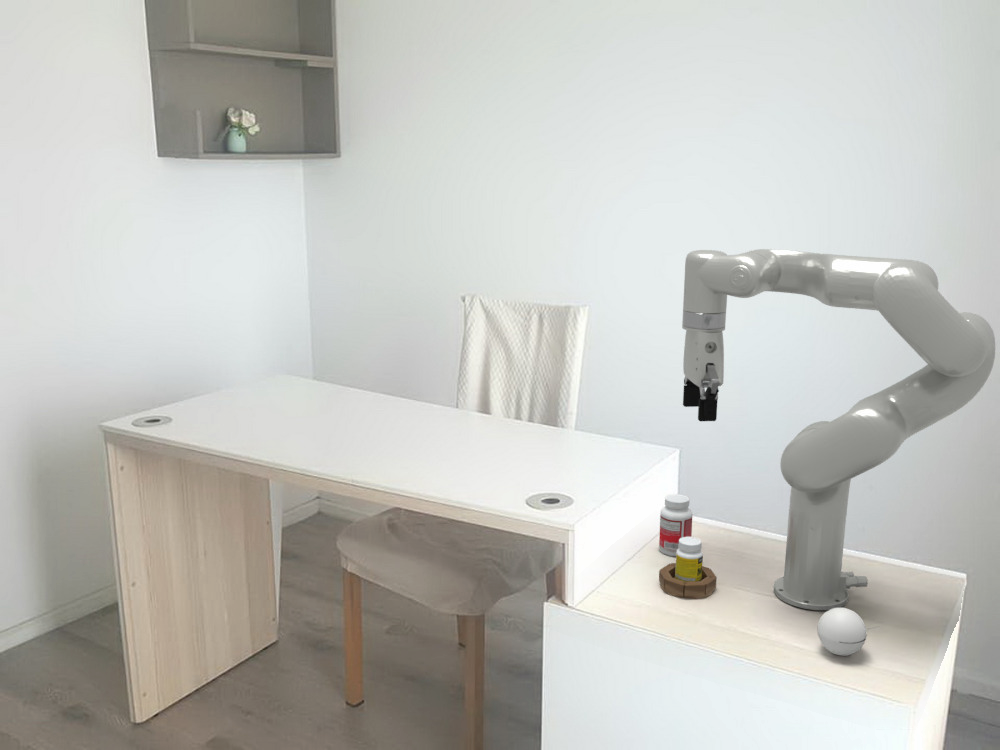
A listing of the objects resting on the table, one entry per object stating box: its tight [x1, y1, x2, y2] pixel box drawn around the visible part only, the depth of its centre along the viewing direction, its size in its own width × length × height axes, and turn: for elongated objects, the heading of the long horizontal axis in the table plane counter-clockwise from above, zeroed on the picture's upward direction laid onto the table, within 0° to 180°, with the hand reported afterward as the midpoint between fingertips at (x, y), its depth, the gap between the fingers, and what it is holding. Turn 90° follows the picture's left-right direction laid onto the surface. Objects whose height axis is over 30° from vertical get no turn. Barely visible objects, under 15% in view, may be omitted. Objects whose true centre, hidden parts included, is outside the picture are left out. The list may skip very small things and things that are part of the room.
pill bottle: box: [658, 493, 693, 557], centre depth 192 cm, size 6×6×11 cm
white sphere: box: [817, 607, 880, 656], centre depth 154 cm, size 10×7×7 cm
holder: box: [658, 562, 717, 600], centre depth 177 cm, size 10×10×3 cm
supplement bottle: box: [675, 536, 704, 582], centre depth 176 cm, size 5×5×8 cm
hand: (699, 413), depth 178 cm, fingers open, 9 cm apart
